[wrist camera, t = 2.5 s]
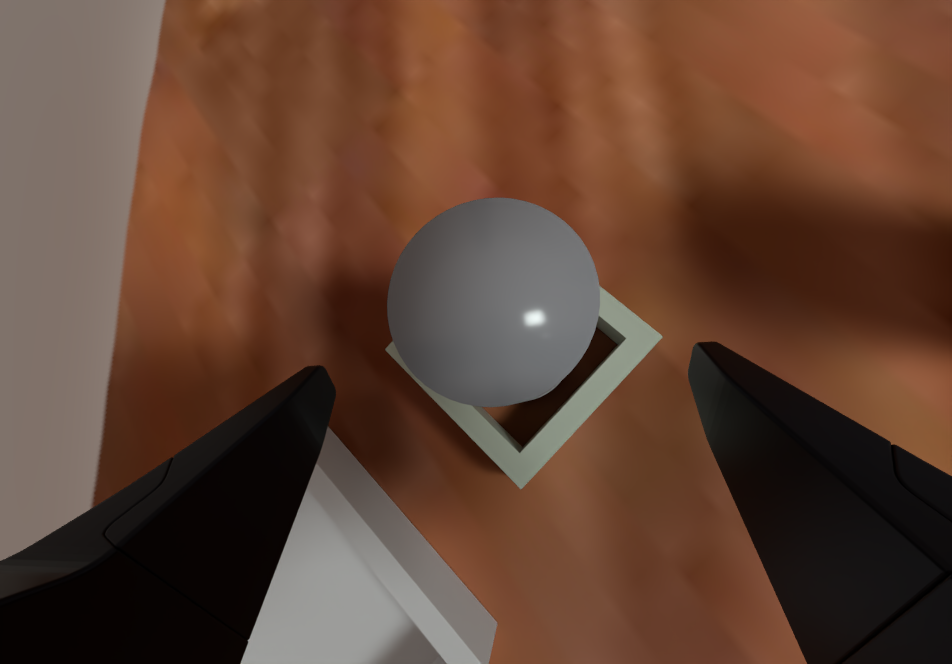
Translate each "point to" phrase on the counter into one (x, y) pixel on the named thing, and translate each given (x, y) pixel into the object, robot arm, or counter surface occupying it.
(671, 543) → the counter surface
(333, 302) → the counter surface
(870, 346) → the counter surface
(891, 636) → the robot arm
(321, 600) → the parts tray
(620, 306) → the holder ring
